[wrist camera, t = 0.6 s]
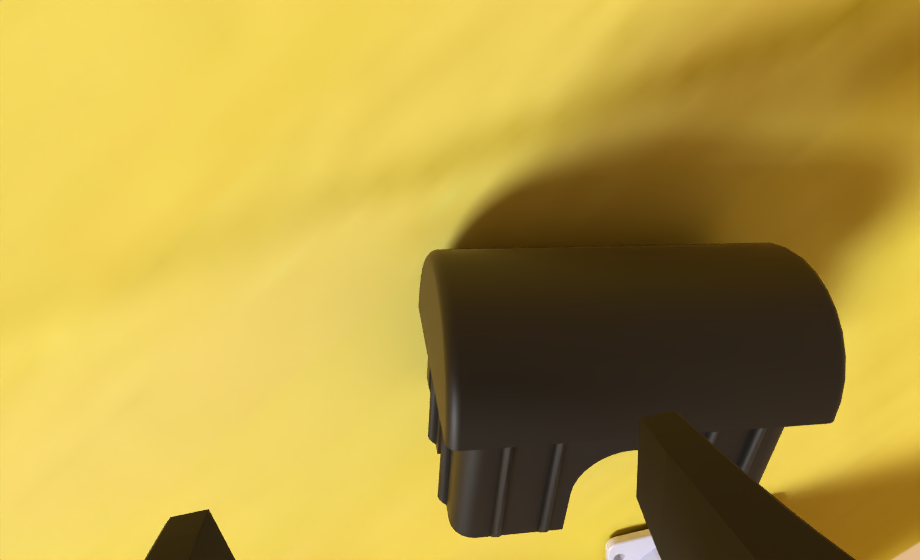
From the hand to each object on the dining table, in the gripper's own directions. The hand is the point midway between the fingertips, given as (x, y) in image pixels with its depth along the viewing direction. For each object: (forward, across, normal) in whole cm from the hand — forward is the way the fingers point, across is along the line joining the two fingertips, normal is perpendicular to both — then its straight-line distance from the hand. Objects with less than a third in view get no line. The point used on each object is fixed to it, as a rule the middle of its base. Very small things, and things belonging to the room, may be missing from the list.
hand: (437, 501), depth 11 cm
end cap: (+10, -5, +4) cm, 12 cm away
